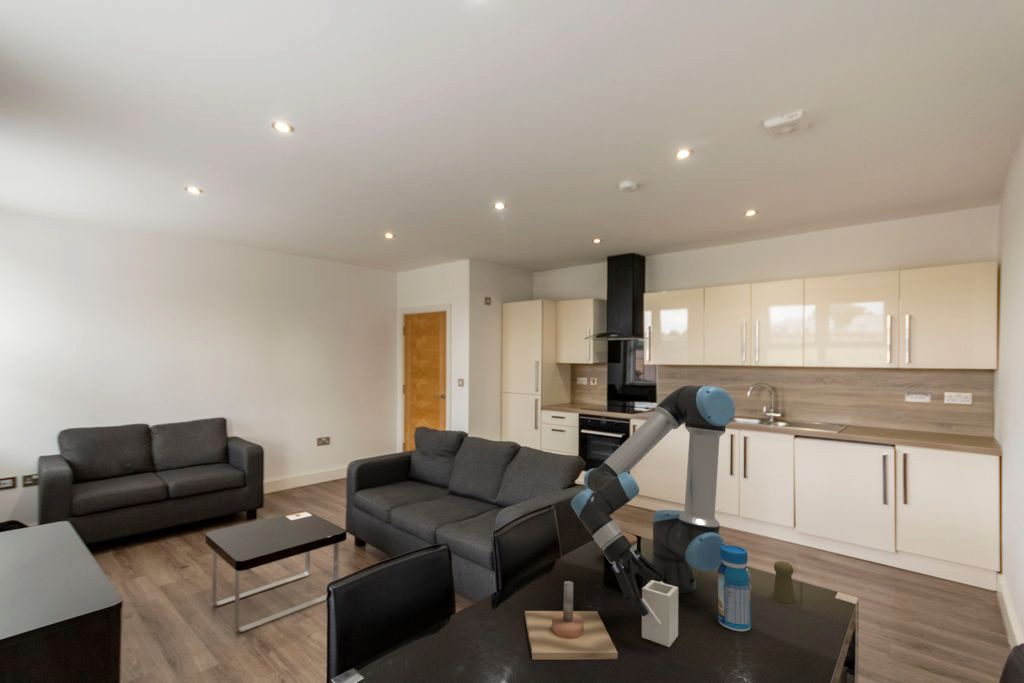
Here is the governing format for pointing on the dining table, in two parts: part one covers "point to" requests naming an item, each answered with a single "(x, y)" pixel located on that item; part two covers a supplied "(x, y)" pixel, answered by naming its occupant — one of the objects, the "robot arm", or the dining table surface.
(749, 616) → the beverage bottle
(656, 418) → the robot arm
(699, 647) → the dining table surface
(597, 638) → the post board
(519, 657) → the dining table surface
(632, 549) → the white lidded jar
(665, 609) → the sleeve
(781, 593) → the olive pepper shaker
